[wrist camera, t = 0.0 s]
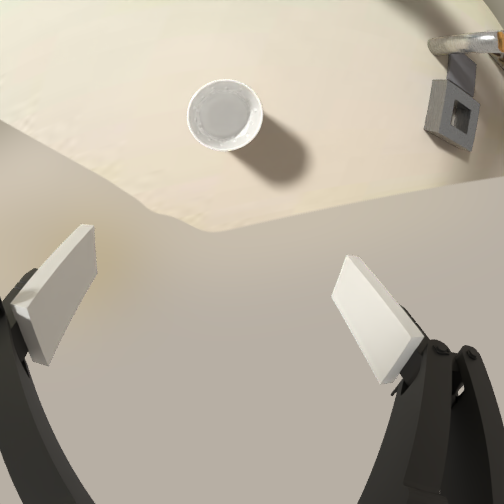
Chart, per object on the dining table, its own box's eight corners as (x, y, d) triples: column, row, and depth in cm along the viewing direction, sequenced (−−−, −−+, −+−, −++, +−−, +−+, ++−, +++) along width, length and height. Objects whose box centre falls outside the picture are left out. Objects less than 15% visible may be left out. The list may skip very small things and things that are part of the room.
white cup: (262, 105, 35) (277, 102, 27) (233, 152, 38) (239, 164, 29) (212, 78, 33) (211, 66, 24) (183, 127, 36) (173, 130, 27)
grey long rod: (428, 35, 30) (497, 26, 16) (441, 44, 31) (509, 39, 16) (427, 50, 32) (497, 44, 17) (440, 58, 32) (509, 57, 18)
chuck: (432, 79, 34) (447, 79, 31) (465, 102, 36) (480, 104, 33) (423, 129, 39) (438, 132, 35) (457, 147, 41) (471, 151, 37)
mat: (449, 44, 31) (451, 44, 30) (474, 64, 32) (476, 64, 32) (446, 78, 34) (448, 78, 34) (471, 96, 36) (473, 97, 35)
